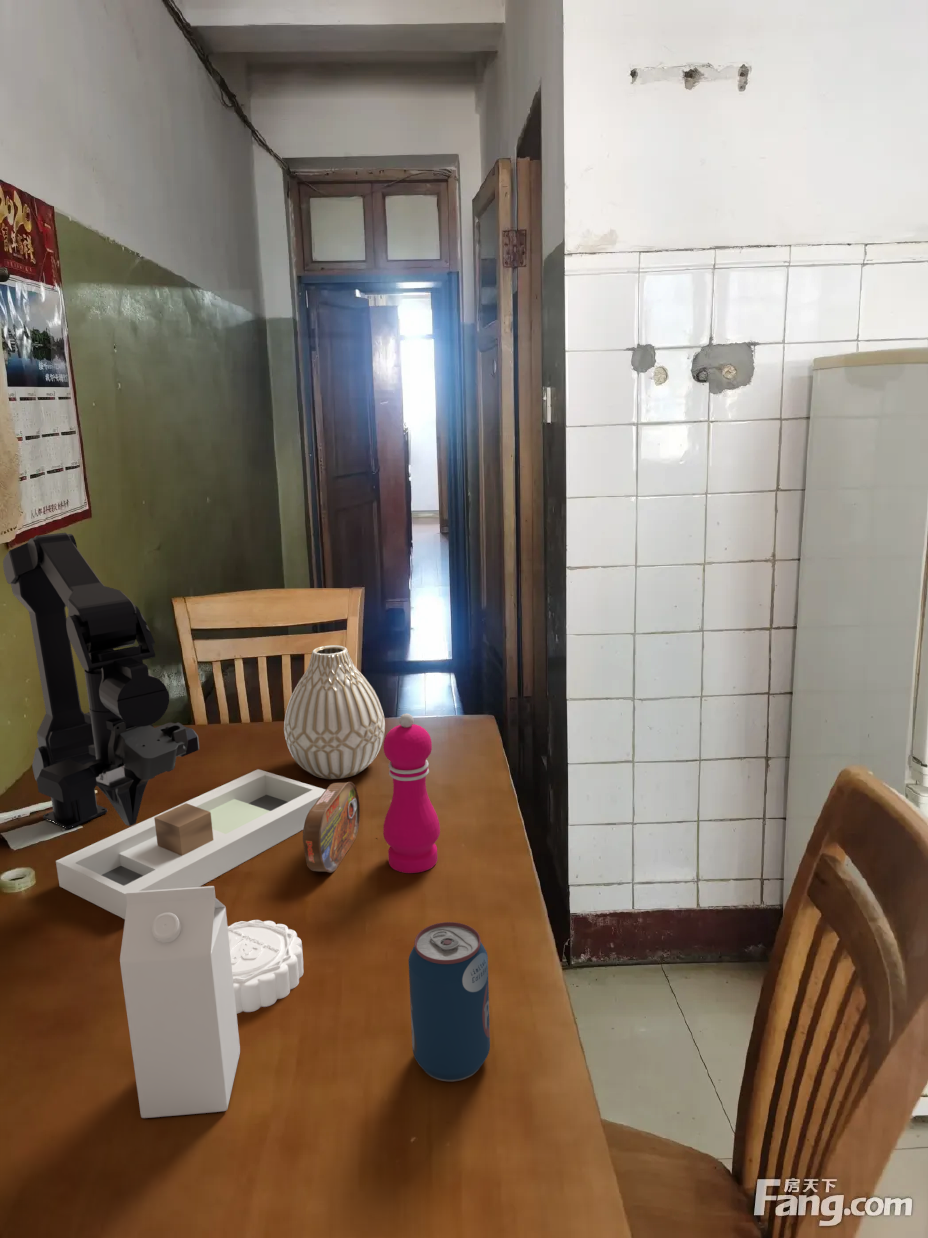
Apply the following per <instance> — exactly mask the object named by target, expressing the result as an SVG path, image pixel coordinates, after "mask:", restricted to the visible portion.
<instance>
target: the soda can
mask: <svg viewBox="0 0 928 1238" xmlns="http://www.w3.org/2000/svg"><path fill="white" fill-rule="evenodd" d="M408 978H409V979H408V981H409V999H410V1001H409V1002H410V1003H409V1004H410V1020H411V1021H410V1022H411V1023H410V1024H411V1025H410V1026H411V1028H410V1029H411V1045H412V1048H411V1049H412V1054H413V1057H414V1059H415V1060H416V1062H417V1063H418V1065H419V1066H420V1068H421V1069H422V1070H423V1071H424V1072H425V1073H426V1074H427V1075H428V1076H430V1077H431V1078H433V1079H436V1080H438V1081H442V1082H458V1081H463V1080H466V1079H468V1078H470V1077H472V1076H473V1075H475V1074H476V1073H477V1072H478V1071H479V1070H480V1069H481V1067H482V1066H483V1064H484V1062H485V1061H486V1060H487V1058H488V1055H489V1054H490V1047H491V1035H490V1034H491V1029H490V998H489V997H490V992H489V991H490V989H489V956H488V952H487V950H486V948H485V946H484V944H483V943H482V941H481V936H480V934H479V932H478V931H477V930H476V929H475V928H473V927H471V926H470V925H468V924H464V923H460V922H456V921H455V922H454V921H446V922H439V923H437V922H436V923H433V924H431V925H429V926H426V927H425V928H423V929H422V930H421V931H420V932H418V933H417V935H416V937H415V939H414V945H413V947H412V949H411V952H410V953H409V955H408Z"/></svg>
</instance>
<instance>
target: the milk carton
mask: <svg viewBox="0 0 928 1238" xmlns="http://www.w3.org/2000/svg"><path fill="white" fill-rule="evenodd" d="M126 900H127V909H126V917H125V919H124V924H123V933H122V941H121V948H120V956H119V962H120V963H119V964H120V973H121V980H122V987H123V994H124V995H123V996H124V1003H125V1010H126V1015H127V1016H126V1017H127V1023H128V1024H127V1025H128V1030H129V1038H130V1045H131V1046H130V1047H131V1054H132V1060H133V1068H134V1076H135V1082H136V1083H135V1084H136V1092H137V1097H138V1099H137V1100H138V1103H139V1104H138V1105H139V1111H140V1112H139V1113H140V1117H141V1118H142V1119H148V1118H160V1117H161V1118H163V1117H172V1116H185V1115H195V1114H196V1115H197V1114H206V1113H207V1114H208V1113H217V1112H218V1113H219V1112H225V1111H227V1110H228V1108H229V1103H230V1098H231V1095H232V1090H233V1085H234V1081H235V1076H236V1073H237V1068H238V1063H239V1058H240V1053H241V1045H240V1043H241V1042H240V1035H239V1026H238V1024H239V1023H238V1015H237V1014H236V1004H235V995H234V985H233V975H232V965H231V956H230V946H229V936H228V926H229V925H228V918H227V908H226V906H225V904H224V903H222V902H221V901H220V900H219V899H218V898H216V891H215V886H214V885H208V886H200V887H191V888H177V889H162V890H148V891H133V892H126Z"/></svg>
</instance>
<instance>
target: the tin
mask: <svg viewBox="0 0 928 1238" xmlns="http://www.w3.org/2000/svg"><path fill="white" fill-rule="evenodd" d="M360 808H361V806H360V797H359V793H358V790H357V787H356V785H355V784H354V783H353V782H352V781H348V782H333V783H331V784H329V786H328V787H327V788H325V792H324V793H323V794H322V795H321V797H320V798H319V799H318V800H317V802H316V803H315V804H314V806H313V807H312V808H311V809H310V811H309V812H308V814H307V817H306V820H305V823H304V828H303V830H302V842H303V849H304V856H305V861H306V862H305V863H306V865H307V867H308V869H309V870H310V871H313V872H323V873H324V872H327V873H333V872H335V871H336V870H337V869H338V868H339V866H340V864H341V863H342V861H343V859H344V858H345V856H346V854H347V853H348V851H349V850H350V849H351V847H352V845H353V844H354V842H355V840H356V839H357V836H358V832H359V827H360V822H361V821H360V820H361V819H360V818H361V809H360Z"/></svg>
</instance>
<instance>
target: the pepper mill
mask: <svg viewBox="0 0 928 1238" xmlns="http://www.w3.org/2000/svg"><path fill="white" fill-rule="evenodd" d="M398 722H399V724H398V725H395V726H394V727H393V728H391V729H390V730H389V731H388V732H387V733H386V735H385V736H384V739H383V753H384V756H385V757H386V758H387V760H388V761H389V763H388V768H389V771H388V775H389V777H391V778H392V783H393V784H392V785H393V786H392V787H393V789H392V790H393V791H392V792H393V793H392V796H391V797H392V798H391V801H390V805H389V808H388V809H387V812H386V814H385V816H384V821H383V830H382V833H383V838H384V840H385V843H386V844H387V845H389V848H388V850H387V851H388V852H387V853H388V865H389V866H390V867H391V869H393V870H394V871H396V872H400V873H405V874H416V873H417V874H418V873H423V872H425V871H428V870H431V869H432V868H433V867H435V865H436V864H437V862H438V847H437V844H436V842H437V841H438V839H439V837H440V834H441V826H440V825H441V824H440V821H439V816H438V814H437V812H436V810H435V807H434V805H433V804H432V802H431V800H430V797H429V794H428V790H427V784H426V781H427V778H426V777H427V776H428V775H429V773H430V769H429V765H430V764H429V761H428V760H427V759H428V757H430V755H431V754H432V750H433V745H432V744H433V743H432V739H431V736H430V734H429V732H428V731H427V730H426V729H425V728H424V727H422V726H421V725H419V724H414V722H415V721H414V717H413V715H411V714H410V713H403V714H401V716H400V717H399V721H398Z"/></svg>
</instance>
